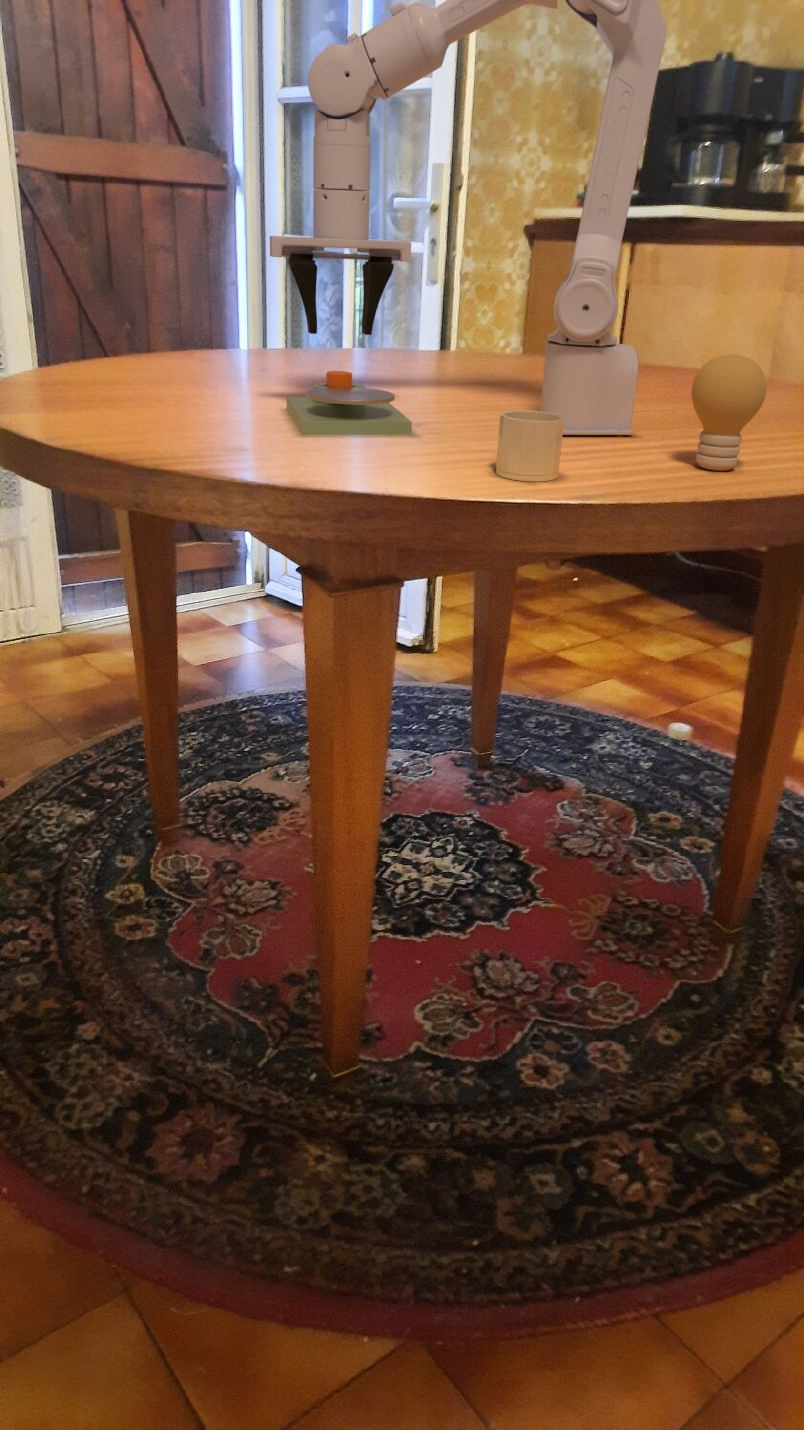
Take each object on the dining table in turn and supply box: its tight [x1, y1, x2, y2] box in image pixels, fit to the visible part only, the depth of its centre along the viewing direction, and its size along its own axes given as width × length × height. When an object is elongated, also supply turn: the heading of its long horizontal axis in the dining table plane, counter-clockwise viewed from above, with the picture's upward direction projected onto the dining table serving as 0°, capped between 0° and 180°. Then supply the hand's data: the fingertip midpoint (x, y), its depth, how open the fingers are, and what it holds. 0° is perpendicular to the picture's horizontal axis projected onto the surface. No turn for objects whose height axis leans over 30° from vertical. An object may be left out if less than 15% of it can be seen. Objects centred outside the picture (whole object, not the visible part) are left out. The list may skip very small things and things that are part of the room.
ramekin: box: [495, 409, 564, 483], centre depth 88 cm, size 5×5×5 cm
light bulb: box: [691, 354, 767, 472], centre depth 92 cm, size 6×6×10 cm
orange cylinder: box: [325, 370, 353, 387], centre depth 111 cm, size 3×3×2 cm
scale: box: [286, 381, 413, 436], centre depth 108 cm, size 15×11×3 cm
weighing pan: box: [306, 387, 396, 405], centre depth 104 cm, size 9×9×1 cm
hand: (339, 333), depth 109 cm, fingers open, 5 cm apart
